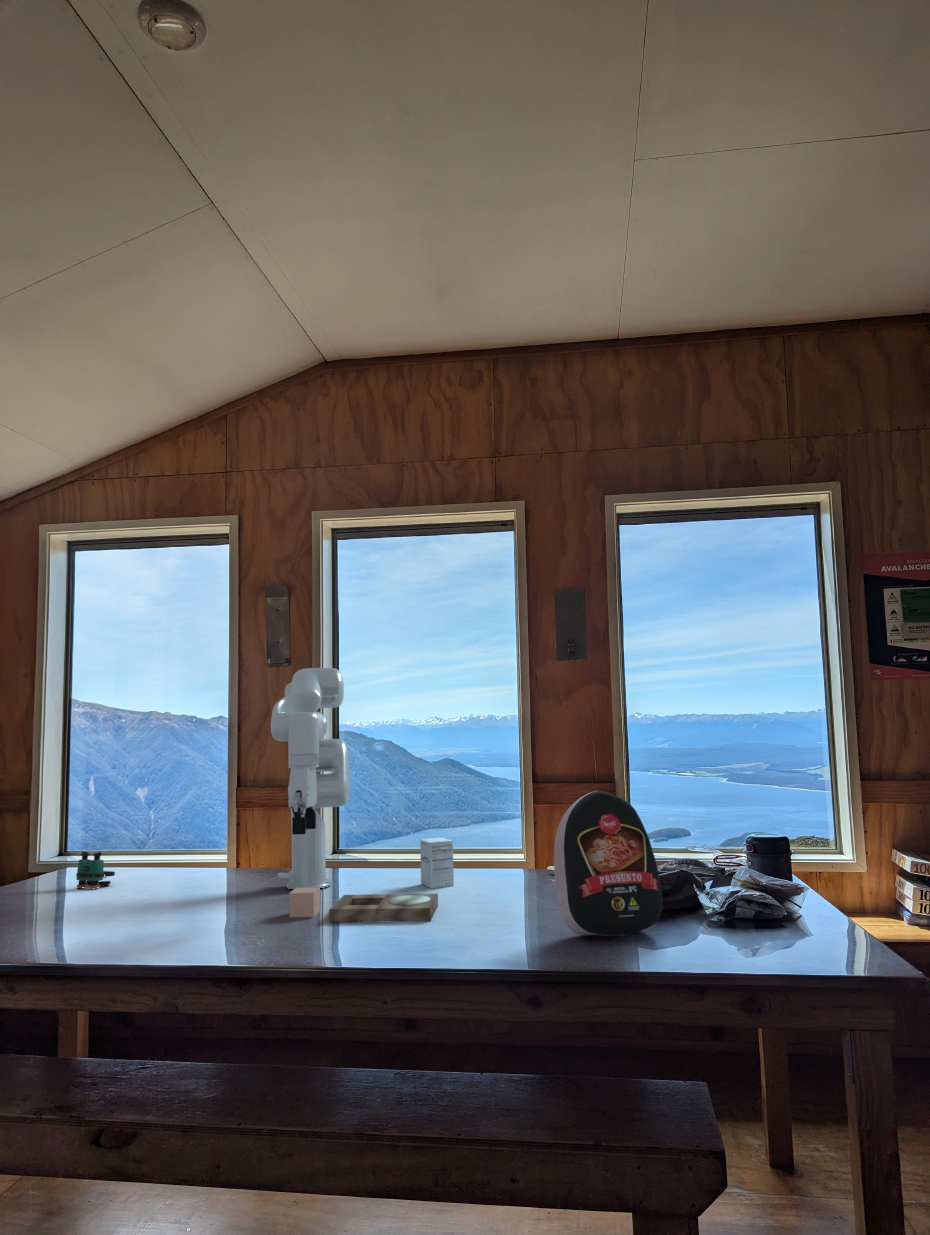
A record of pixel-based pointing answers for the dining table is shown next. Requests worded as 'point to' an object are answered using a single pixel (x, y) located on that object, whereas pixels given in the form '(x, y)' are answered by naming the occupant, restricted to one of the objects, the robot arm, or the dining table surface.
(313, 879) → the robot arm
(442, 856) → the supplement box
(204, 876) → the dining table surface
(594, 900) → the packaged food
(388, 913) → the hole platform
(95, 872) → the green boxy piece
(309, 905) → the block
